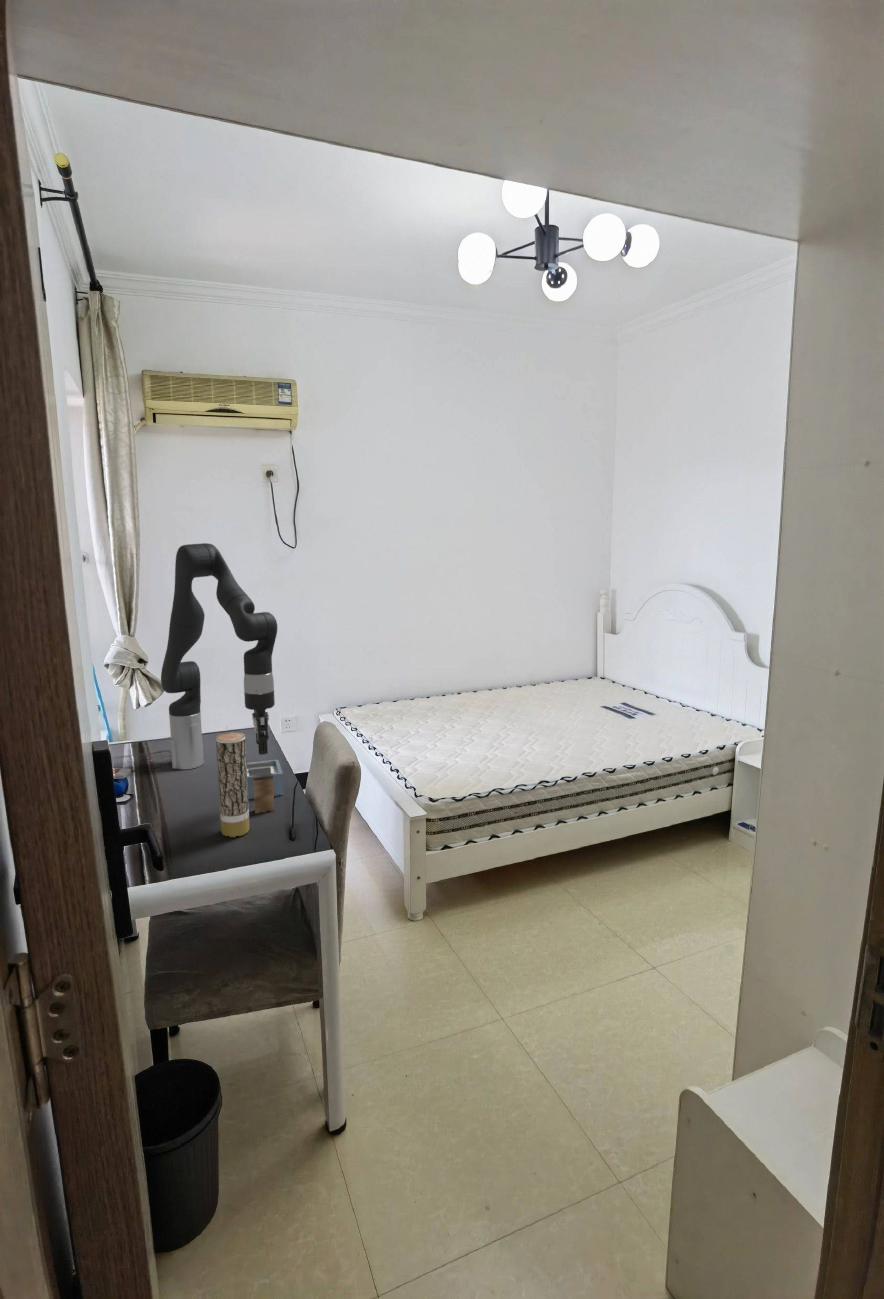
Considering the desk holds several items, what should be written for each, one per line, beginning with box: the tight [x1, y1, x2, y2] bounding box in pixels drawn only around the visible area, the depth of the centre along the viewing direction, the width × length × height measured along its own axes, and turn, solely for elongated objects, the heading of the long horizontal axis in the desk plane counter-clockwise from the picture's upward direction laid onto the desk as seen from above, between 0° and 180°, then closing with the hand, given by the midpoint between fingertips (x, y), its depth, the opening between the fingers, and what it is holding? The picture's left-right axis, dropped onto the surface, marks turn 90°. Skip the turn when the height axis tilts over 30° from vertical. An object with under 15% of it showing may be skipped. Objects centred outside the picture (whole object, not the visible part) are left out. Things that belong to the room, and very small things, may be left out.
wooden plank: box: [253, 773, 275, 814], centre depth 183 cm, size 5×2×10 cm, turn 109°
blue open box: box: [246, 759, 284, 800], centre depth 197 cm, size 12×12×8 cm
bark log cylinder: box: [215, 732, 250, 838], centre depth 169 cm, size 7×7×25 cm
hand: (261, 748), depth 180 cm, fingers open, 8 cm apart
